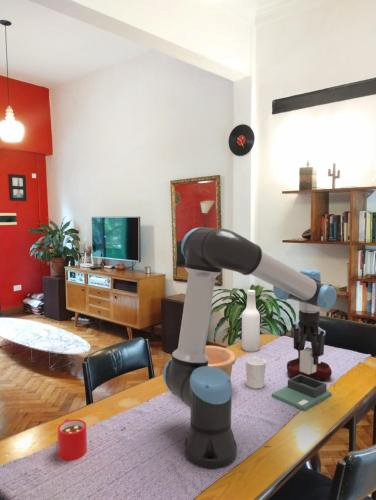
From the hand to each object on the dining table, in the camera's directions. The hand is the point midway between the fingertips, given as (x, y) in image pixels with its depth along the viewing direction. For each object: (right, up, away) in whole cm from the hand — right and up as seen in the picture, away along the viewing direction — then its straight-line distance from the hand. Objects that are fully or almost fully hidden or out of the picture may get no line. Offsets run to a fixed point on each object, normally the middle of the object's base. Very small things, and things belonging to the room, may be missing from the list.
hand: (307, 370), depth 150 cm
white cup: (-19, -8, +7) cm, 22 cm away
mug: (-80, -13, -35) cm, 88 cm away
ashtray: (+5, -7, +18) cm, 20 cm away
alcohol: (-14, -4, +48) cm, 50 cm away
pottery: (-38, -9, +2) cm, 40 cm away
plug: (0, 0, 0) cm, 0 cm away
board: (-3, -9, -2) cm, 10 cm away
